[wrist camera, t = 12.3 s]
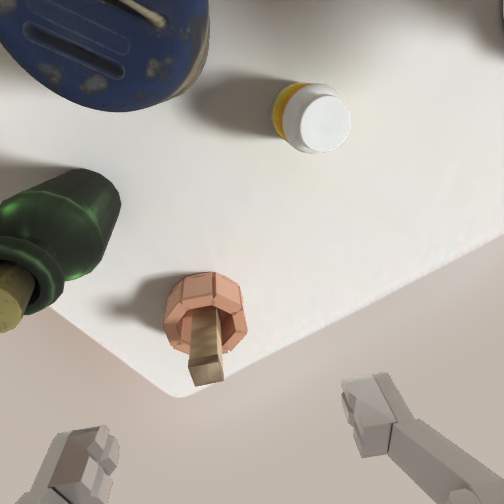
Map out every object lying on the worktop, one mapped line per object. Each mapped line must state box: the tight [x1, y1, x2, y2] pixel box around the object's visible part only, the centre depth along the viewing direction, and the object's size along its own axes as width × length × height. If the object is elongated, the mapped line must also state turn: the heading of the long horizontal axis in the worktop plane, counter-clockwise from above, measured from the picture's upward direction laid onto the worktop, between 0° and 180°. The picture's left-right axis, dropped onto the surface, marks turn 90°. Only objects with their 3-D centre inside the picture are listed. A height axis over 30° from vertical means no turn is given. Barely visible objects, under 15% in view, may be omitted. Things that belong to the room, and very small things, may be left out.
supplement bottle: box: [271, 83, 351, 154], centre depth 27 cm, size 5×5×10 cm
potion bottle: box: [0, 169, 121, 333], centre depth 25 cm, size 8×8×18 cm
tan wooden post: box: [188, 305, 224, 387], centre depth 36 cm, size 3×3×11 cm
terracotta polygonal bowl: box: [163, 272, 248, 355], centre depth 39 cm, size 10×10×5 cm
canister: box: [0, 0, 210, 112], centre depth 19 cm, size 10×10×18 cm
